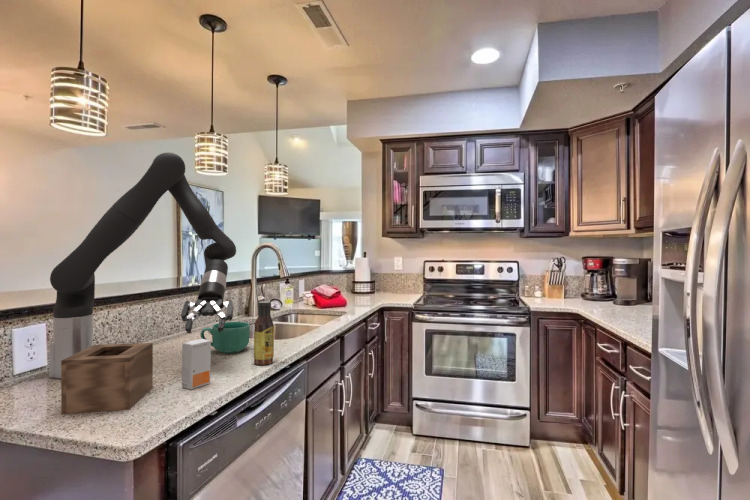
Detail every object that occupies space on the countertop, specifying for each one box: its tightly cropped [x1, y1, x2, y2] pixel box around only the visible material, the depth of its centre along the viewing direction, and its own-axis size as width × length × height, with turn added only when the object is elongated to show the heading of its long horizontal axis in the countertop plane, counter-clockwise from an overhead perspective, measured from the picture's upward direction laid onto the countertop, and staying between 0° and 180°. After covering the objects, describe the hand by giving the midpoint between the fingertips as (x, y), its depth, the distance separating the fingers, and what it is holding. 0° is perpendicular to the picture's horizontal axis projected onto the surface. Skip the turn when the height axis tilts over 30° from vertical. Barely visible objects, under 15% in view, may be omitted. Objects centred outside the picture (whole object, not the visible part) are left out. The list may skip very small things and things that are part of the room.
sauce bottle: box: [253, 300, 275, 366], centre depth 126 cm, size 6×6×20 cm
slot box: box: [60, 342, 154, 415], centre depth 95 cm, size 14×14×12 cm
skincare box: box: [181, 338, 212, 390], centre depth 106 cm, size 6×4×12 cm
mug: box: [199, 321, 251, 354], centre depth 140 cm, size 17×13×10 cm
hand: (204, 331), depth 113 cm, fingers open, 8 cm apart
